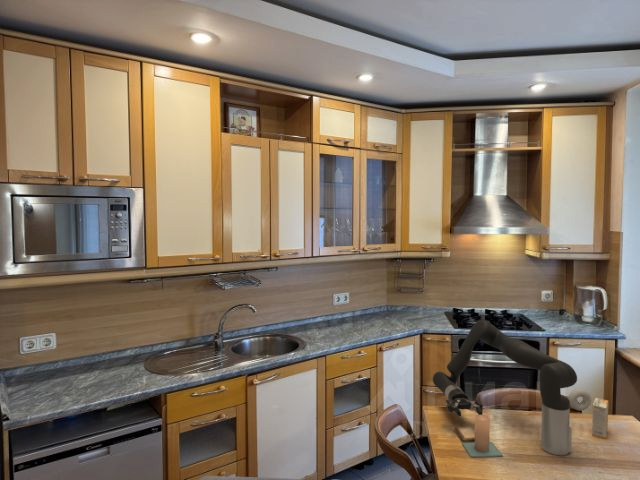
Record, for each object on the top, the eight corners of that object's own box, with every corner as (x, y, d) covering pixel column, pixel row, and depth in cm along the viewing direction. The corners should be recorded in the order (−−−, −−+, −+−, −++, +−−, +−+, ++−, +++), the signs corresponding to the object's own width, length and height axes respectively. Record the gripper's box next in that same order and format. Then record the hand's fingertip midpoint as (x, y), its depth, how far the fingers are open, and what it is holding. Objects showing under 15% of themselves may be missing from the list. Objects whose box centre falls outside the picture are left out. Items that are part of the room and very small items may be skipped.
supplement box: (593, 427, 176) (594, 397, 175) (607, 431, 173) (608, 400, 172) (591, 435, 169) (592, 404, 169) (605, 439, 166) (606, 407, 165)
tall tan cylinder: (485, 444, 162) (486, 414, 161) (491, 452, 157) (492, 421, 156) (472, 445, 162) (472, 414, 161) (477, 452, 157) (478, 421, 156)
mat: (492, 443, 164) (492, 441, 164) (503, 456, 155) (503, 455, 155) (461, 444, 164) (461, 442, 164) (471, 457, 155) (471, 456, 155)
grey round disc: (570, 412, 190) (571, 390, 189) (566, 408, 193) (566, 387, 192) (592, 412, 189) (593, 390, 189) (588, 408, 193) (588, 387, 192)
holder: (478, 429, 175) (478, 426, 175) (489, 442, 165) (489, 438, 165) (454, 430, 174) (454, 426, 174) (463, 443, 165) (463, 439, 164)
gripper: (440, 388, 186) (453, 405, 169) (472, 387, 186) (488, 404, 170) (440, 405, 186) (453, 423, 170) (471, 404, 187) (487, 422, 170)
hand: (470, 413), depth 170 cm, fingers open, 8 cm apart
